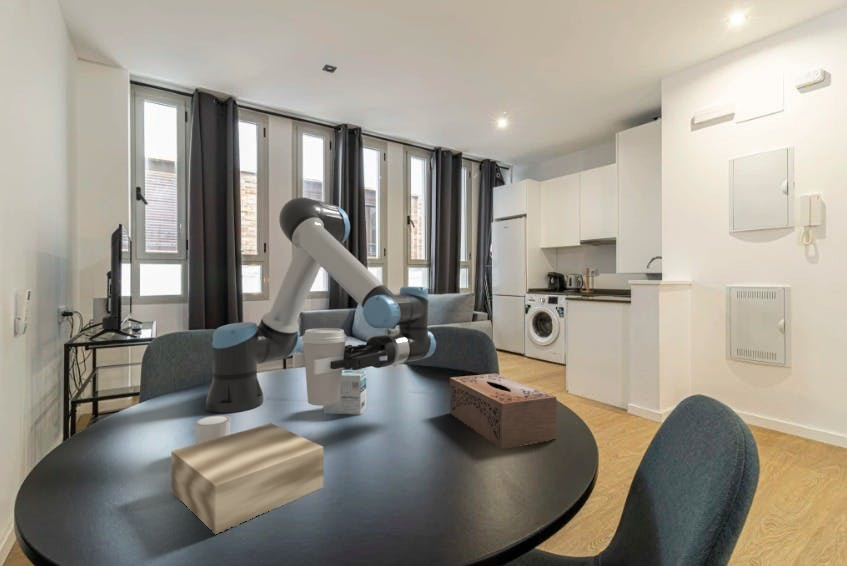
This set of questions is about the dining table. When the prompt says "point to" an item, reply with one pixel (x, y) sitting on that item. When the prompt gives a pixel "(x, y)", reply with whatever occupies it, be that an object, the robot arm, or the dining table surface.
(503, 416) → the tissue box cover
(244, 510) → the riser block
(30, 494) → the dining table surface
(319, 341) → the coffee cup
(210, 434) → the shot glass
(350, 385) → the light bulb box
